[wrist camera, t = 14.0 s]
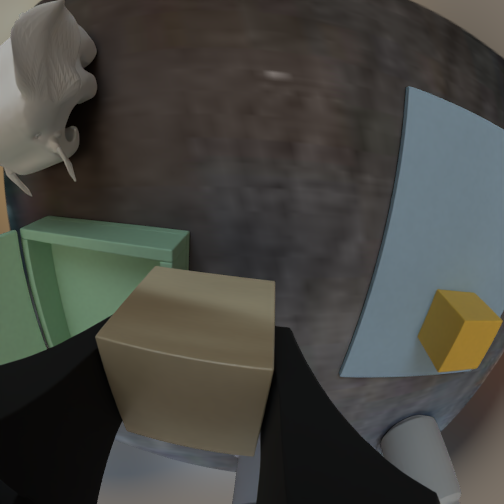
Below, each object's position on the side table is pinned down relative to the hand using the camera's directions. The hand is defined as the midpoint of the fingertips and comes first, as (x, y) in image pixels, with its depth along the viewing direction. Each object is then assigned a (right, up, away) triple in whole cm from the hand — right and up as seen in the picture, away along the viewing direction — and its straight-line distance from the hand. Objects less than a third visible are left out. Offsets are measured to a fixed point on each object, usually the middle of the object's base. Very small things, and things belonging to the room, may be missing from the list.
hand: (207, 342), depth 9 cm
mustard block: (+16, -2, +8) cm, 18 cm away
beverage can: (+18, -16, +14) cm, 28 cm away
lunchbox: (-9, -1, +10) cm, 13 cm away
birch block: (0, 0, +1) cm, 1 cm away
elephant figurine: (-11, +13, +5) cm, 18 cm away
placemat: (+16, +2, +7) cm, 18 cm away
